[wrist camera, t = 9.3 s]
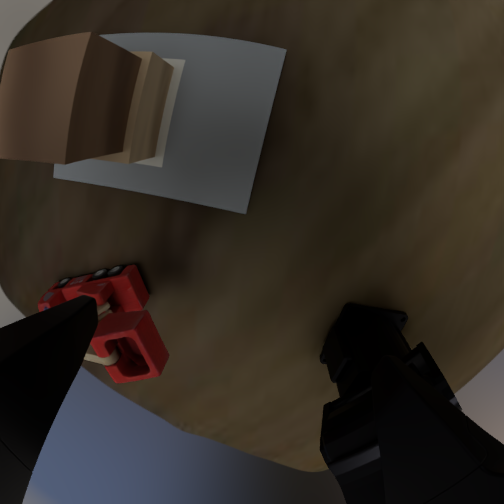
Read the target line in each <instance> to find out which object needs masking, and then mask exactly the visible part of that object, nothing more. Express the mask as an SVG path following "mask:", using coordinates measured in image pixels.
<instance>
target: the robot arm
mask: <svg viewBox="0 0 504 504" xmlns="http://www.w3.org/2000/svg"><path fill="white" fill-rule="evenodd" d="M349 309H351V310H350V311H348V310H349ZM402 318H403V319H402ZM407 320H408V316H407V315H406V313H404V312H399V311H393V310H387V309H381V308H375V307H369V306H364V305H358V304H352V303H349V304H347V305H345V306H344V308H343V310H342V312H341V315H340V317H339V319H338V321H337V323H336V325H335V326H333V328H332V330H331V332H330V334H329V336H328V338H327V340H326V342H325V344H324V346H323V352H322V354H321V355H320V362H321V363H322V364H327V367H328V371H329V375H330V379H331V381H332V382H333V383H336V384H337V388H338V392H339V396H340V398H338V399H336V400H334V401H332V402H328V403H326V404H325V405H324V407H323V418H322V428H321V437H320V452H321V454H322V456H323V458H324V461H325V463H326V464H327V466H328V468H329V469H330V470H331V472H332V473H333V474H334V476H335V477H336V479H337V481H338V483H339V485H340V487H341V489H342V492H343V495H344V498H345V500H346V503H347V504H504V444H502V443H501V442H500V441H498V440H497V439H495V438H494V437H493V436H491V435H490V434H489V433H487V432H486V431H485V430H483V429H482V428H481V427H480V426H478V425H477V424H476V423H475V422H474V421H472V420H471V419H470V418H469V417H468V416H465V414H464V413H463V412H462V411H461V410H462V408H461V406H460V405H459V403H458V401H457V399H456V397H455V395H454V393H453V392H452V390H451V388H450V386H449V385H448V383H447V381H446V379H445V378H444V376H443V374H442V372H441V371H440V369H439V368H438V366H437V364H436V363H435V361H434V359H433V358H432V356H431V355H430V353H429V351H428V350H427V348H426V347H425V345H424V344H423V342H420V343H419V344H418V345H416V346H417V347H416V348H414V349H413V350H411V348H410V346H409V345H408V343H407V341H406V340H405V338H404V336H403V334H402V333H401V330H402V329H403V327H404V325H405V323H406V322H407ZM97 326H98V311H97V302H96V299H95V298H93V297H90V296H87V295H81V296H79V297H76V298H74V299H71V300H69V301H66V302H64V303H61V304H58V305H56V306H53V307H51V308H48V309H46V310H43V311H41V312H39V313H36V314H34V315H31V316H29V317H26V318H24V319H21V320H19V321H16V322H14V323H12V324H9V325H7V326H4V327H2V328H0V504H22V502H23V499H24V496H25V493H26V490H27V487H28V484H29V481H30V478H31V475H32V471H33V469H34V467H35V464H36V462H37V459H38V456H39V454H40V451H41V449H42V447H43V444H44V442H45V440H46V437H47V435H48V433H49V430H50V428H51V426H52V424H53V421H54V419H55V417H56V415H57V413H58V411H59V408H60V406H61V404H62V402H63V400H64V398H65V396H66V394H67V392H68V390H69V388H70V386H71V384H72V382H73V380H74V379H75V377H76V375H77V373H78V371H79V369H80V367H81V365H82V362H83V360H84V357H85V355H86V352H87V350H88V348H89V345H90V343H91V340H92V338H93V336H94V333H95V331H96V329H97Z"/></svg>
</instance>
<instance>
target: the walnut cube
mask: <svg viewBox="0 0 504 504" xmlns="http://www.w3.org/2000/svg"><path fill="white" fill-rule="evenodd" d="M141 61H142V58H140V57H138V56H136V55H135V54H133V53H131V52H129V51H127V50H126V49H124V48H122V47H120V46H118V45H116V44H114V43H113V42H111V41H109V40H107V39H105V38H103V37H101V36H99V35H97V34H95V33H93V32H86V33H79V34H73V35H67V36H62V37H57V38H52V39H48V40H43V41H39V42H35V43H31V44H28V45H24V46H21V47H17V48H14V49H11V50H9V52H8V56H7V59H6V63H5V67H4V71H3V75H2V80H1V84H0V158H3V159H15V160H26V161H36V162H45V163H54V164H62V165H66V164H70V163H74V162H78V161H82V160H86V159H91V158H95V157H100V156H105V155H109V154H114V153H120V152H123V146H124V139H125V133H126V127H127V122H128V117H129V111H130V107H131V102H132V97H133V93H134V88H135V84H136V80H137V76H138V72H139V68H140V65H141Z"/></svg>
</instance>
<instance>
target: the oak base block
mask: <svg viewBox="0 0 504 504" xmlns="http://www.w3.org/2000/svg"><path fill="white" fill-rule="evenodd" d="M129 52H131V53H133V54H135V55H136V56H138V57H140V58H142V61H141V65H140V68H139V72H138V76H137V80H136V84H135V88H134V93H133V97H132V102H131V107H130V111H129V117H128V122H127V127H126V133H125V139H124V146H123V152H120V153H114V154H109V155H105V156H100V157H95V158H91V159H96V160H104V161H111V162H118V163H125V164H131V163H134V162H138V161H141V160H145V159H149V158H153V157H155V153H156V147H157V142H158V136H159V131H160V126H161V121H162V116H163V112H164V107H165V103H166V98H167V94H168V90H169V86H170V82H171V78H172V74H173V70H174V67H173V66H172V65H170V64H169V63H167V62H166V61H165V60H163V59H162V58H161V57H159V56H158V55H156V54H155V53H154V52H146V51H129Z"/></svg>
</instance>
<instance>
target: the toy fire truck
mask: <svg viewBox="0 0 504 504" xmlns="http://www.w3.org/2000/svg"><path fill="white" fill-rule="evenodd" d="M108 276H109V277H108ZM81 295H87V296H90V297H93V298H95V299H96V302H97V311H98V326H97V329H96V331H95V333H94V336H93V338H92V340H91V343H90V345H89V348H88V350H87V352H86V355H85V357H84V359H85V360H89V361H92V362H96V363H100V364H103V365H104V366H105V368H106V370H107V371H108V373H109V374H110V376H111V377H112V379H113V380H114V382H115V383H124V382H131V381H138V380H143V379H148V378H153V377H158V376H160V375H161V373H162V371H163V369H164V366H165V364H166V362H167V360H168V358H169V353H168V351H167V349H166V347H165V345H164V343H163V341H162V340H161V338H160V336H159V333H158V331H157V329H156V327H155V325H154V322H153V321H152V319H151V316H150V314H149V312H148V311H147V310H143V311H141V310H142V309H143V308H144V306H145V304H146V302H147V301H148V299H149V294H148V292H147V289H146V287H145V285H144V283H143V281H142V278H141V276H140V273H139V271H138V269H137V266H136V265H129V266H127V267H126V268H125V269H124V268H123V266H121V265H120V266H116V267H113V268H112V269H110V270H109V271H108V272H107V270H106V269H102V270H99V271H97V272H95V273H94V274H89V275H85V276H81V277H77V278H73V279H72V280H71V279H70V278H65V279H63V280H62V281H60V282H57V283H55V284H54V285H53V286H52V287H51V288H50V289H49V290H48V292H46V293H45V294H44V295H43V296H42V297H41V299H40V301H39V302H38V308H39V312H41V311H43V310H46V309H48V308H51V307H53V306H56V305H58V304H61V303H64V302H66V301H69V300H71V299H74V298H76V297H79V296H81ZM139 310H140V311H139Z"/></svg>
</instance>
